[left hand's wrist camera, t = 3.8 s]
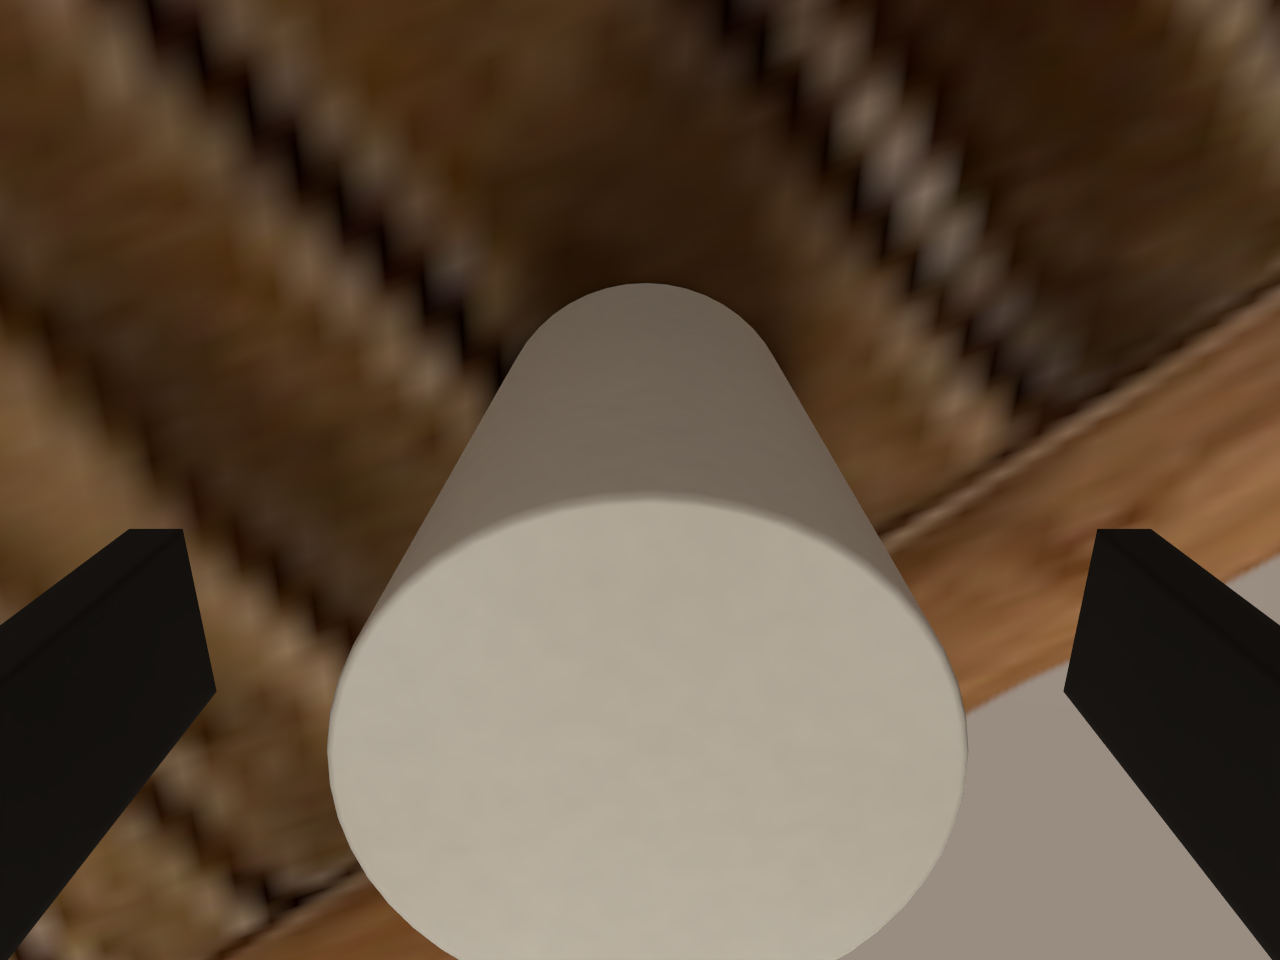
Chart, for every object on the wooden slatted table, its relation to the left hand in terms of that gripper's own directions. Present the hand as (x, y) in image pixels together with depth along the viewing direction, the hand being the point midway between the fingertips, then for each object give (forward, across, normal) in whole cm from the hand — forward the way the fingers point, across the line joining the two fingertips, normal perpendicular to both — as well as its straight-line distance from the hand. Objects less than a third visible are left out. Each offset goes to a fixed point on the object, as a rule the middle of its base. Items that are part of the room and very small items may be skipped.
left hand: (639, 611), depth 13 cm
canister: (+8, 0, 0) cm, 8 cm away
